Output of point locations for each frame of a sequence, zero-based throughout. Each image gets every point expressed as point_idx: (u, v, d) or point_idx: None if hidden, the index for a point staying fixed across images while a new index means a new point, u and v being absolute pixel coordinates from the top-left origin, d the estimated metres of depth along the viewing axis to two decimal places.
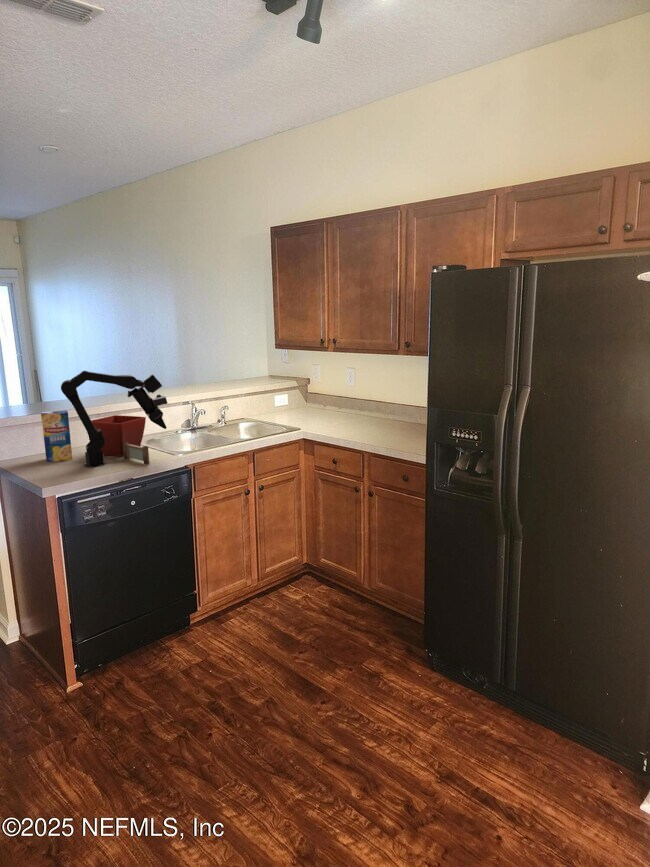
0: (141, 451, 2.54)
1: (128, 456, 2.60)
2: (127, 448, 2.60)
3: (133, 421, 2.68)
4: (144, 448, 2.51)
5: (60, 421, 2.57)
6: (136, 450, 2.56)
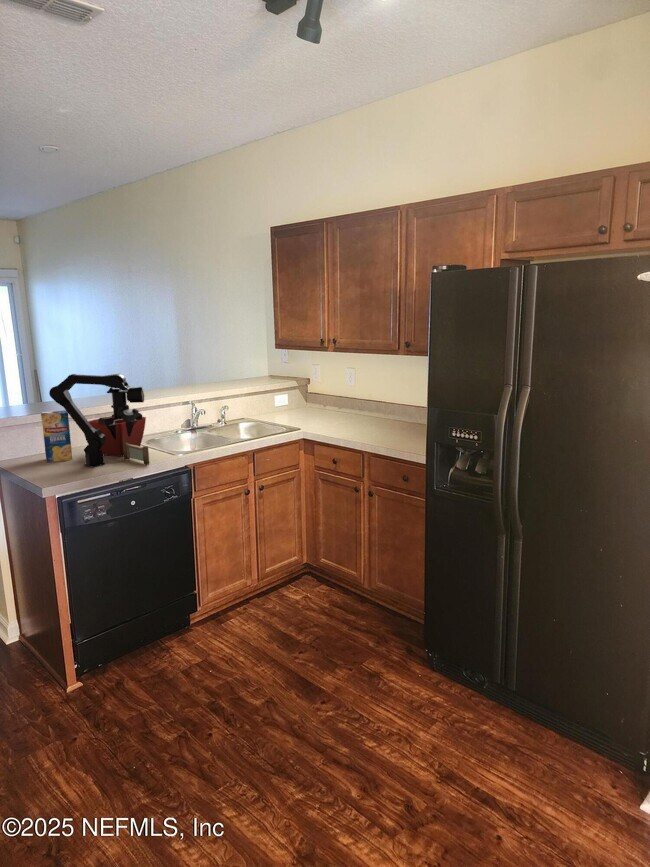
0: (141, 451, 2.54)
1: (128, 456, 2.60)
2: (127, 448, 2.60)
3: None
4: (144, 448, 2.51)
5: (60, 421, 2.57)
6: (136, 450, 2.56)
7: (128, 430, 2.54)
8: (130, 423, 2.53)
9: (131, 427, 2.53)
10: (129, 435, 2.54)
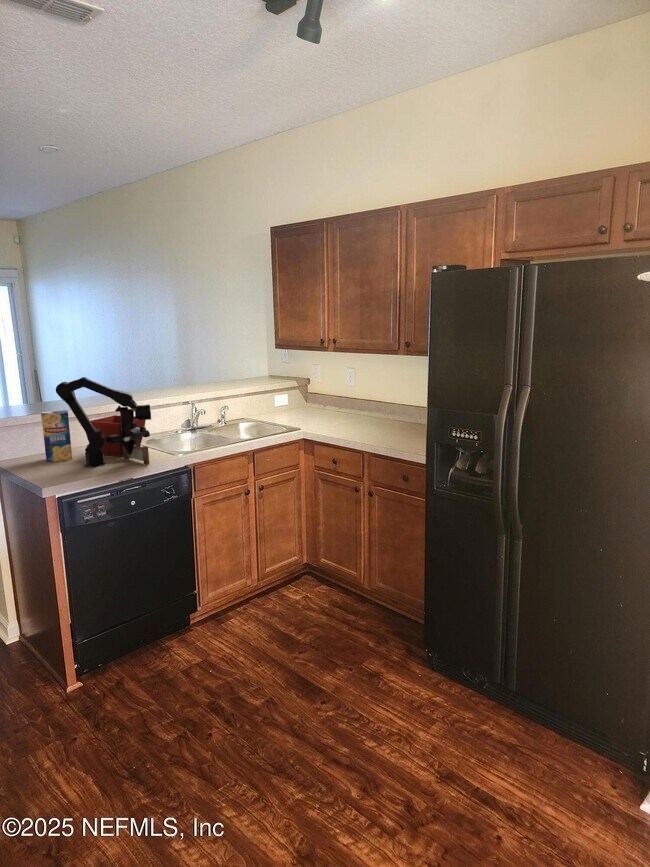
0: (141, 451, 2.54)
1: (128, 456, 2.60)
2: None
3: None
4: (144, 448, 2.51)
5: (60, 421, 2.57)
6: (136, 450, 2.56)
7: None
8: (131, 442, 2.54)
9: (132, 445, 2.55)
10: (130, 453, 2.55)
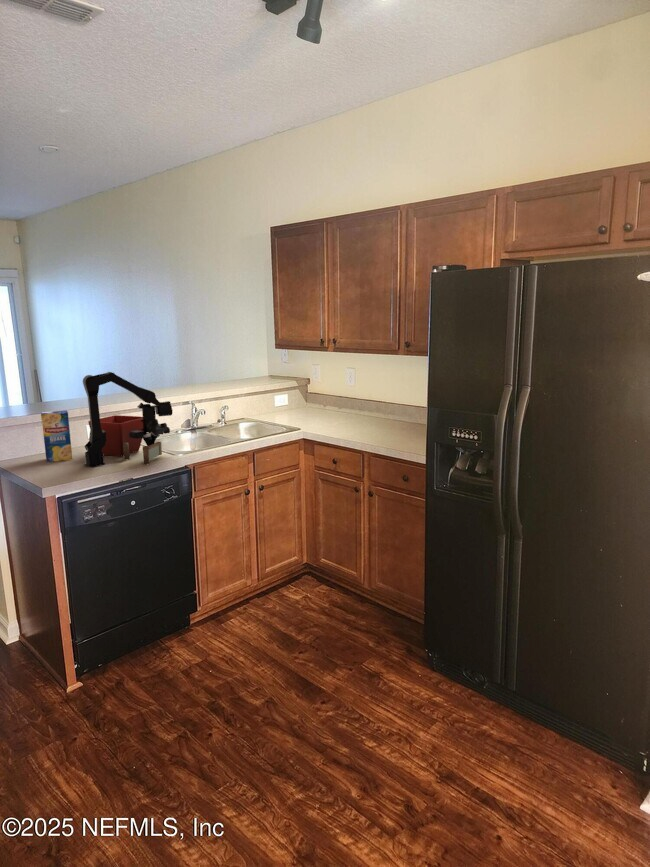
0: None
1: None
2: None
3: (133, 421, 2.68)
4: (144, 448, 2.51)
5: (60, 421, 2.57)
6: None
7: (150, 444, 2.64)
8: None
9: (153, 441, 2.64)
10: None
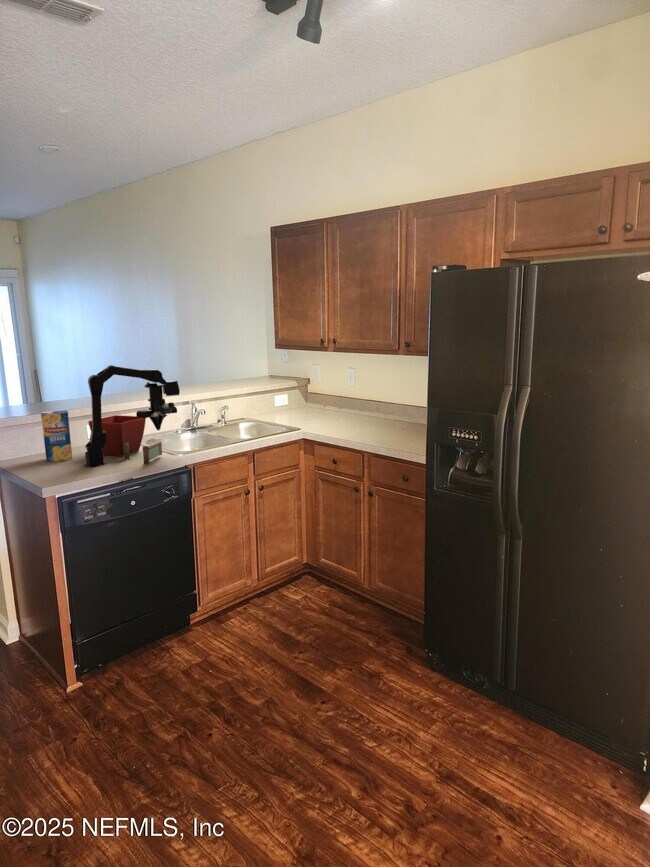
0: None
1: None
2: None
3: (133, 421, 2.68)
4: (144, 448, 2.51)
5: (60, 421, 2.57)
6: None
7: None
8: (160, 417, 2.62)
9: (161, 421, 2.62)
10: (159, 429, 2.63)
